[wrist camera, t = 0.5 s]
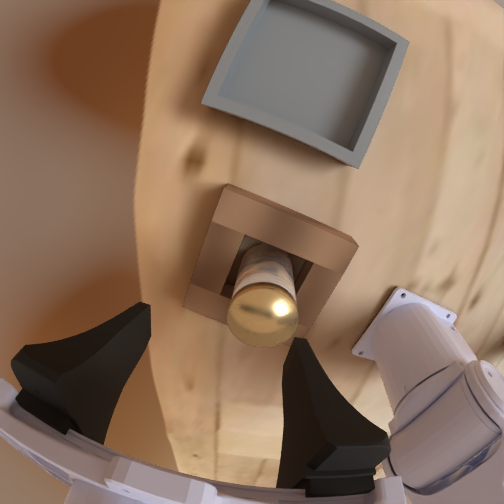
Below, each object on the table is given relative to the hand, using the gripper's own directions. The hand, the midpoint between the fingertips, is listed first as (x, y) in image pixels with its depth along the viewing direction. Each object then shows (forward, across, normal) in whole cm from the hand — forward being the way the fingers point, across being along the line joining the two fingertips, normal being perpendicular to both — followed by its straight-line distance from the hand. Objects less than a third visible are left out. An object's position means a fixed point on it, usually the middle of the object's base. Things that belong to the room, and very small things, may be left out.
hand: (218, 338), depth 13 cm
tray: (+9, -2, -15) cm, 18 cm away
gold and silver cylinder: (+9, -2, 0) cm, 10 cm away
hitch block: (+9, -2, 0) cm, 10 cm away
